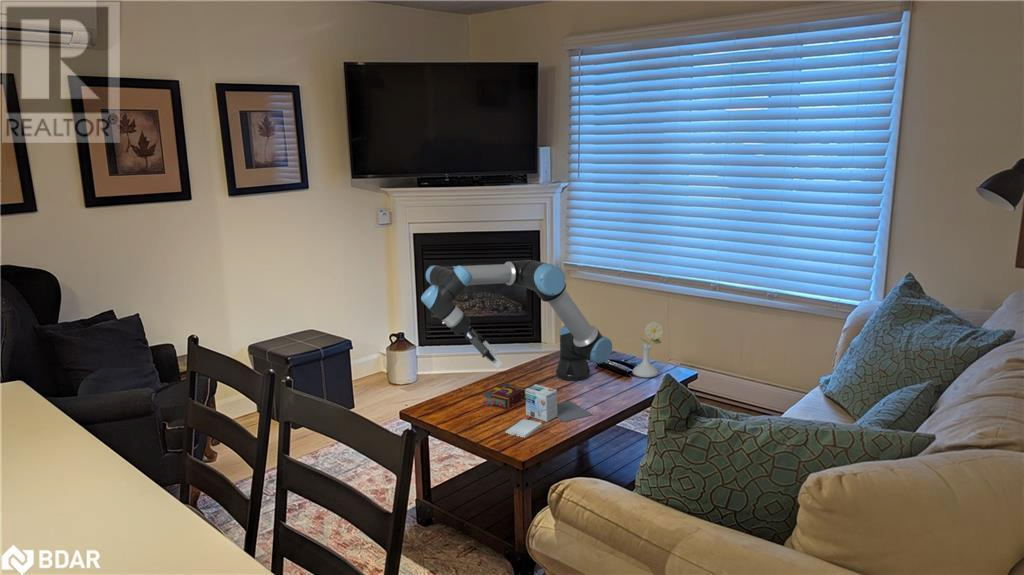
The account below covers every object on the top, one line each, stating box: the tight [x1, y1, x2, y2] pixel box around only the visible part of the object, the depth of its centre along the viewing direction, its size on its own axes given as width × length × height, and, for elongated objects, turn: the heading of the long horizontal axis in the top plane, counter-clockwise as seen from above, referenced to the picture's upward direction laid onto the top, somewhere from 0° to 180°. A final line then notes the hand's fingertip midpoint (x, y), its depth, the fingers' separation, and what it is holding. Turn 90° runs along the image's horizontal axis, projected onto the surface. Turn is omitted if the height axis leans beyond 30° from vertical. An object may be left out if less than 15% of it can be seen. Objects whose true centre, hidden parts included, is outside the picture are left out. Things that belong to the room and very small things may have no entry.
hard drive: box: [505, 418, 543, 439], centre depth 252 cm, size 2×8×12 cm
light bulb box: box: [525, 383, 558, 423], centre depth 262 cm, size 11×7×11 cm, turn 48°
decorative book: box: [483, 382, 527, 410], centre depth 278 cm, size 11×16×5 cm
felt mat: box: [556, 400, 594, 423], centre depth 268 cm, size 13×16×1 cm
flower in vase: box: [631, 321, 664, 379], centre depth 304 cm, size 13×11×25 cm
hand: (497, 359), depth 255 cm, fingers open, 13 cm apart
